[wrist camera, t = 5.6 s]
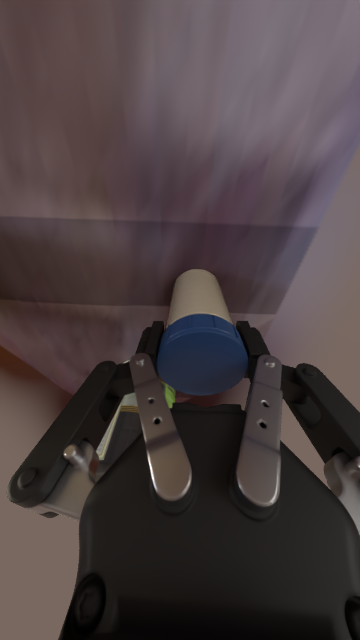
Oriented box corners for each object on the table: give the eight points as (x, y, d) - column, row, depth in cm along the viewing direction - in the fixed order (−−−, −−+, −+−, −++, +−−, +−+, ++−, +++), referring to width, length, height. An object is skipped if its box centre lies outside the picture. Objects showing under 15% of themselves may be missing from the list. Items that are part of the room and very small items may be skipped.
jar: (180, 316, 23) (174, 390, 14) (166, 276, 20) (148, 337, 11) (223, 306, 22) (246, 379, 13) (215, 262, 19) (237, 317, 10)
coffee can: (169, 353, 27) (153, 475, 15) (182, 394, 33) (178, 505, 21) (105, 360, 28) (47, 475, 17) (128, 398, 34) (96, 503, 23)
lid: (235, 375, 14) (240, 396, 13) (163, 374, 15) (160, 394, 13) (247, 313, 11) (257, 331, 10) (156, 313, 12) (151, 331, 10)
